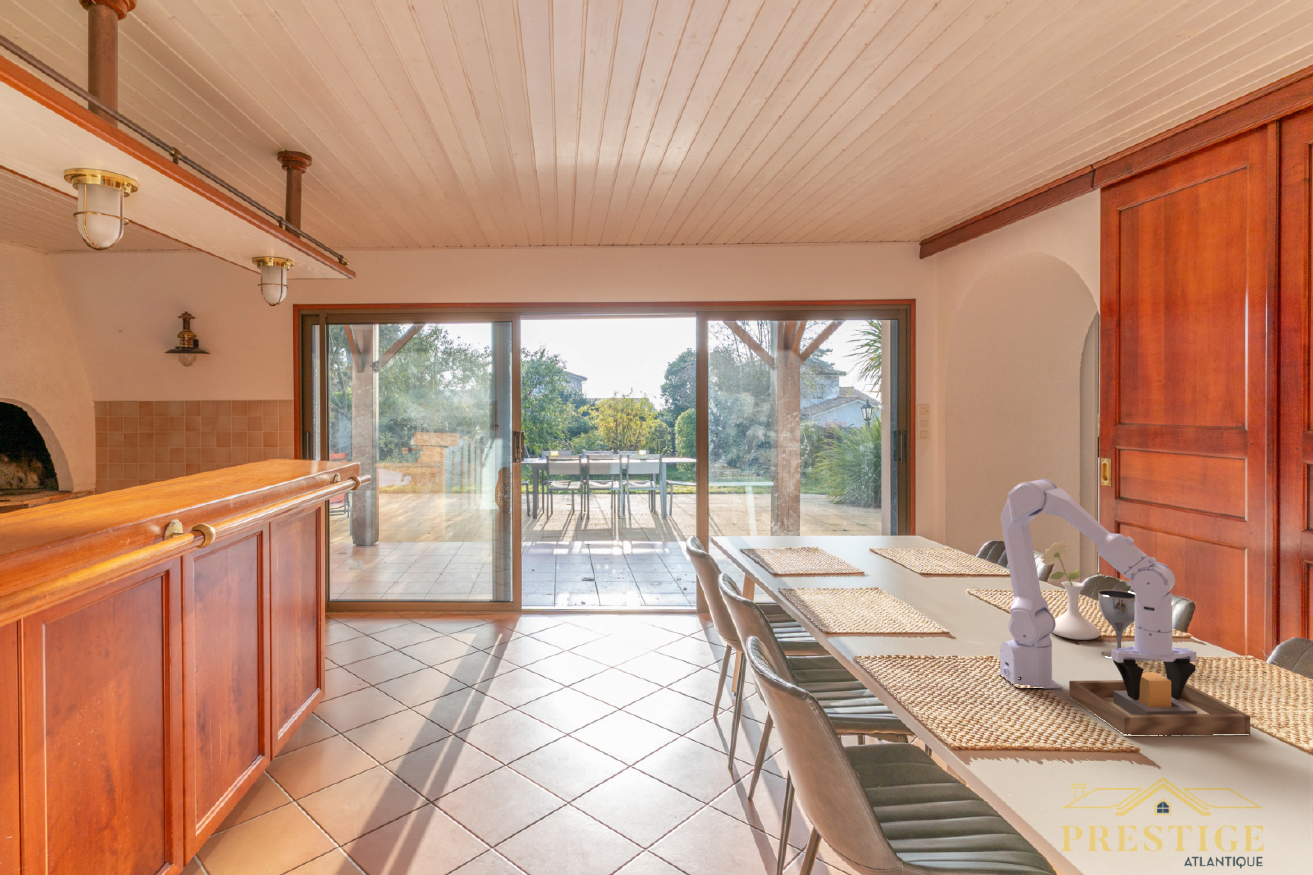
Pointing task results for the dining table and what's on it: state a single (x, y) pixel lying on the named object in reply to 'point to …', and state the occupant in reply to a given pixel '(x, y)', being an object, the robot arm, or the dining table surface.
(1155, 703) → the block
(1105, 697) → the walled box
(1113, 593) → the wine glass
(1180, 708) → the frame
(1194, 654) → the robot arm
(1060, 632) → the flower in vase
